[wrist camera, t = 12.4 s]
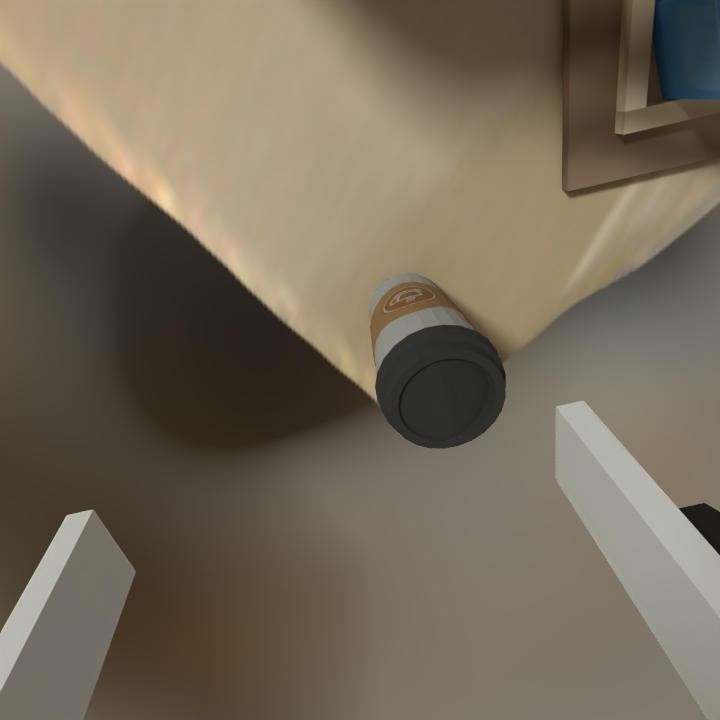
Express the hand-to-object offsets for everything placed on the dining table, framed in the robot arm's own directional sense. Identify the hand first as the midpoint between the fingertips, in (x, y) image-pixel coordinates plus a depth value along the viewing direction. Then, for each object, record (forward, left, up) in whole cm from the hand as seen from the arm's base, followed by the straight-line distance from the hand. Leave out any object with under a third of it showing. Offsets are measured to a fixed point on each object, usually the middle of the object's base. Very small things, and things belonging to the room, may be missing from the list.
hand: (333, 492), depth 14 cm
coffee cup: (+8, +6, -29) cm, 31 cm away
